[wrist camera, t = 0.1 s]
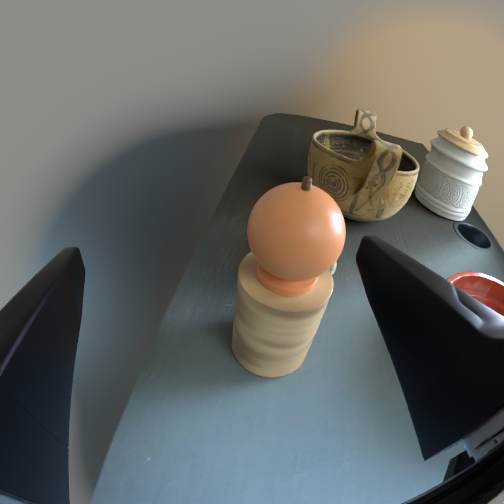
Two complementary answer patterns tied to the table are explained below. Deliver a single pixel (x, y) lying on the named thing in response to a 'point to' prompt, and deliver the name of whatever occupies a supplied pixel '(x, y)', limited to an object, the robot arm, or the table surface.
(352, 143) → the ceramic bowl
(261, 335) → the wooden cylinder
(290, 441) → the table surface
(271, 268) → the peach
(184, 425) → the table surface
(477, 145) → the jar
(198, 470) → the table surface
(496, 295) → the bowl
